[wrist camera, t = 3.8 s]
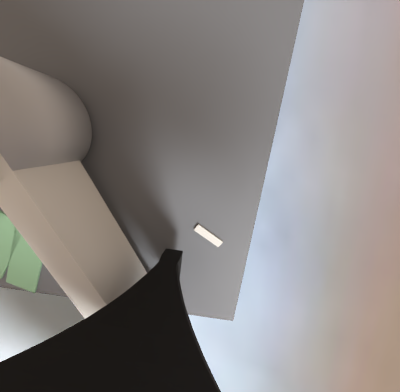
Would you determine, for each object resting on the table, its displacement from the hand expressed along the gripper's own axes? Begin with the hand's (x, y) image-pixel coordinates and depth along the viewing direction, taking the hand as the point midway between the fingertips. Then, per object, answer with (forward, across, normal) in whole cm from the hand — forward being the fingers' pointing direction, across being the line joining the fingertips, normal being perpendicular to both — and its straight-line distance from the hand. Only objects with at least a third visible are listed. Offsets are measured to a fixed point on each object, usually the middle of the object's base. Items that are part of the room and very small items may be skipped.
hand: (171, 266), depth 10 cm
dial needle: (0, +4, -2) cm, 5 cm away
